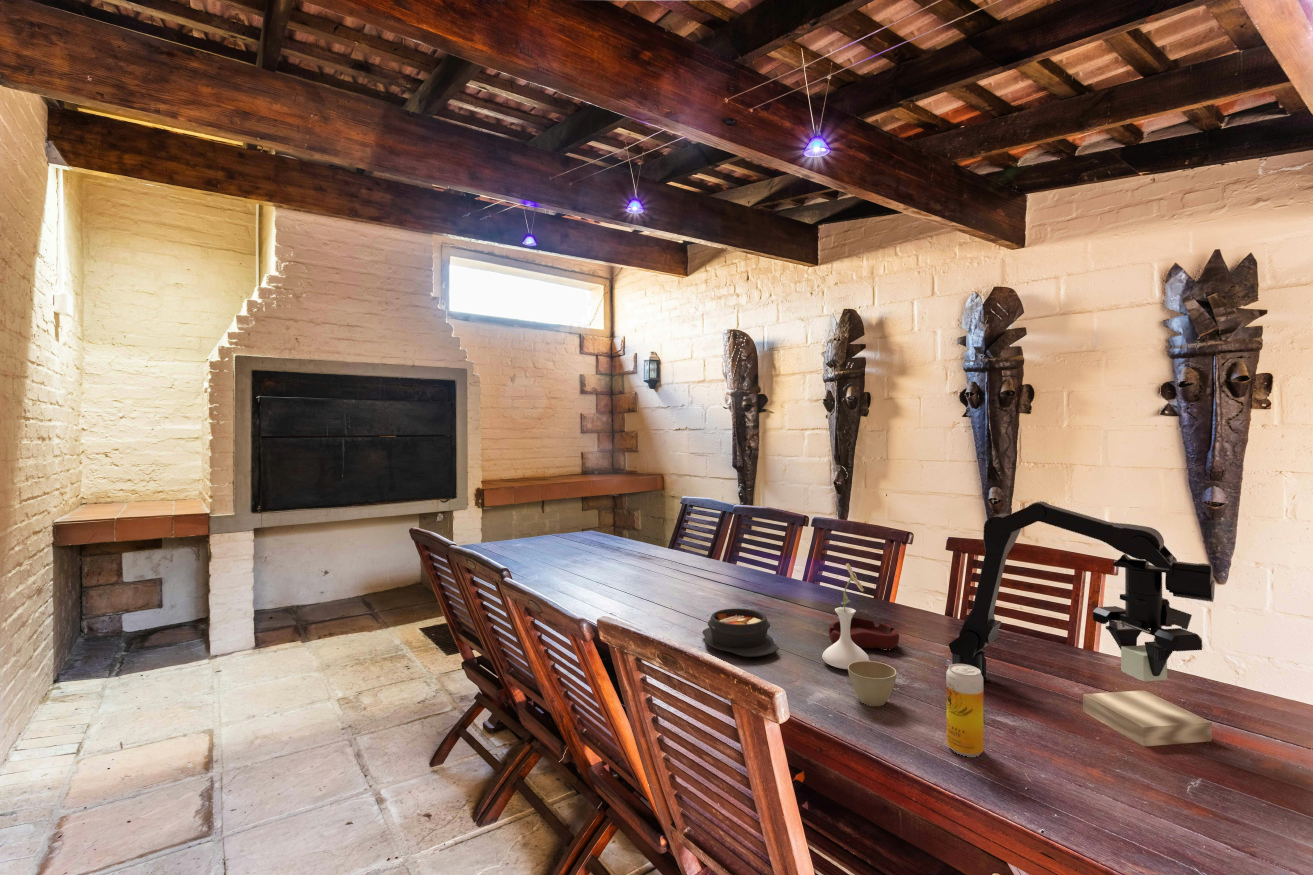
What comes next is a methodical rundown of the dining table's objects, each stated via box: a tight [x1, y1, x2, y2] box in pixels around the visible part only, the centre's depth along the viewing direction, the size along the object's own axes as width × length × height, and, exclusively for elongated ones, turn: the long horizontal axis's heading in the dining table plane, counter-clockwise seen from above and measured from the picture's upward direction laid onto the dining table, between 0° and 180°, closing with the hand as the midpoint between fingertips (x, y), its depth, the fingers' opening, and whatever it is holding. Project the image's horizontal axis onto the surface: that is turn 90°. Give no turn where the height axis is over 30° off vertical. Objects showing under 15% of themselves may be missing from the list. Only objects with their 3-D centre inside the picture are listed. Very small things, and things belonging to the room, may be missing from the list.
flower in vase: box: [821, 562, 871, 670], centre depth 154 cm, size 13×11×25 cm
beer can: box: [945, 664, 985, 758], centre depth 113 cm, size 6×6×15 cm
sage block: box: [1120, 644, 1168, 682], centre depth 121 cm, size 5×5×5 cm
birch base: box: [1082, 690, 1213, 747], centre depth 121 cm, size 14×14×4 cm
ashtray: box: [828, 616, 900, 650], centre depth 169 cm, size 18×16×5 cm
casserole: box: [702, 608, 780, 658], centre depth 167 cm, size 25×19×8 cm
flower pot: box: [847, 660, 897, 707], centre depth 133 cm, size 10×10×7 cm
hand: (1143, 670), depth 121 cm, fingers closed on sage block, 5 cm apart
